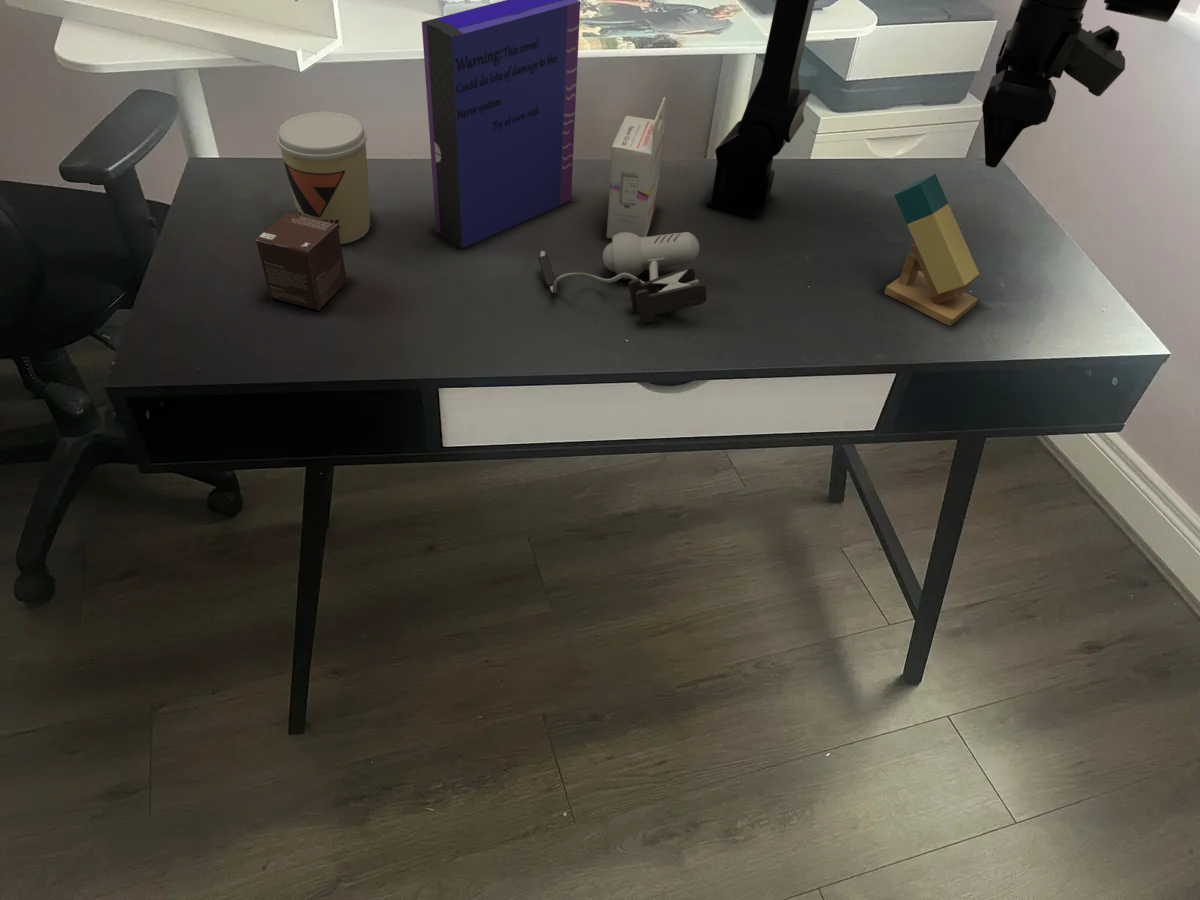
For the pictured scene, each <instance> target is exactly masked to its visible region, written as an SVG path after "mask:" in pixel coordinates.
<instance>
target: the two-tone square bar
mask: <svg viewBox="0 0 1200 900" xmlns="http://www.w3.org/2000/svg"><path fill="white" fill-rule="evenodd" d="M893 196H894V199H895V200H896V203H897V205H898V207H899V211H900V212H901V214H902V217H903V218H904V221H905V223H906V225H907V227H908V228H907V229H908V230H909V233H910V234H911V237H912V239H913V241H914V243H916V246H917V248H918V250H919V252H920V254H921V257H922V259H923V261H924V263H925V266H926V268H927V270H928V272H929V275H930V277H931V279H932V281H933V283H934V286H935V288H936V290H937V292H938V294H941V293H944V292H947V291H950V290H953V289H956V288H959V287H962V286H965V285H966V284H968V283H969V282H970V283H971V281H973V280H974V279H975V278H976V277H978V276H979V275H980V271H979V270H978V267H977V265H976V263H975V260H974V258H973V256H972V253H971V251H970V248H969V247H968V244H967V242H966V239H965V237H964V236H963V233H962V231H961V229H960V226H959V224H958V222H957V219H956V217H955V215H954V213H953V210H952V209H951V208H952V207H951V206H950V203H949V201H948V199H947V196H946V193H944V190H943V187H942V185H941V183H940V181H939V178H938V177H937V174H936V173H934V174H932V175H929V176H927V177H925V178H923V179H920V180H918V181H916V182H913V183H911V184H908V186H906V187H904V188H903V189H901V190H900V191H898V192H896V193H895V194H894V195H893Z"/></svg>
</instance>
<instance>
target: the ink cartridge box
mask: <svg viewBox="0 0 1200 900" xmlns="http://www.w3.org/2000/svg"><path fill="white" fill-rule="evenodd" d="M666 104H667V99H666V96H664V97H663V98H662V101H661V104H660V106H659V108H658V111H657V113H656V116H655V119H650V118H644V117H637V116H632V115H625V117H624V119H623V121H622V123H621V125H620V127H619V130H618V131H617V133H616V135H615V138H614V141H613V143H612V144H611V158H610V159H611V160H610V175H609V194H608V205H607V206H608V209H607V223H606V224H607V225H606V236H605V237H606V239H611V240H612V237H613V236H614V235H616V234H618V233H622V232H629V233H633V234H636V235H638V236H639V237H640V238H641V237H648V233H649V230H650V227H651V223H652V221H653V217H654V214H655V213H654V212H655V210H656V204H657V196H658V188H659V187H658V186H659V179H660V172H661V164H662V163H661V162H662V154H663V145H664V138H665V129H666V106H667V105H666Z"/></svg>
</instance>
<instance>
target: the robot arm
mask: <svg viewBox="0 0 1200 900" xmlns="http://www.w3.org/2000/svg"><path fill="white" fill-rule="evenodd" d="M1180 2H1181V0H1103V4H1105V7H1104V10H1105V11H1109V12H1114V13H1119V14H1125V15H1129V16H1134V17H1138V18H1143V19H1148V20H1154V21H1157V22H1163V23H1168V22H1169V21H1170V19H1171V18H1172V17H1173V15H1174V13H1175V11H1176V10H1177V8H1178V6H1179V4H1180ZM815 3H816V0H775V4H774V9H773V14H772V19H771V24H770V27H769V28H770V29H769V33H768V38H767V44H766V49H765V53H764V58H763V63H762V68H761V73H760V76H759V79H758V80H757V83H756V85H755V87H754V89H753V91H752V94H751V96H750V98H749V100H748V102H747V104H746V108H745V109H744V112H743V114H742V116H741V119H740V120H739V121H738V122H736V123H735V125H733V127H732V129H731V130H730V131H729V132H727V135H726V136H725V137H724V138H723V139H722V140H721V142H719V144H718V145H717V147H716V148H715V149H714V152H715V157H716V167H715V168H716V169H715V175H714V180H713V187H712V192H711V195H710V196H709V198H708V199H707V200H706V206H708V207H710V208H713V209H714V208H715V209H718V210H721V211H725V212H729V213H733V214H737V215H739V216H743V217H747V218H751V219H754V218H755V219H756V217H757V216H758V214H759V212H760V211H761V210H762V209H764V208H765V207H766V205H767V203H768V202H769V200H770V197H771V192H772V188H773V183H774V179H775V173H776V171H775V170H774V169H772V165H773V161H774V157H776V156H777V155H779V153H780V152H781V150H782V149H783V148H784V146H785V145H786V143H787V144H789V143H790V142H791V141H792V140H793V138H794V137H795V135H796V134H797V133H798V131H799V129H800V128H801V127H802V125H803V124H804V122H805V116H804V113H805V112H804V111H805V106H806V103H807V102H808V99H809V97H810V95H811V90H810V89H802V88H801V89H800V81H799V80H800V79H799V71H800V67H801V63H802V59H803V54H804V50H805V45H806V43H807V42H806V41H807V37H808V34H809V33H808V32H809V29H810V24H811V20H812V16H813V11H814V8H815ZM1087 3H1088V0H1021V2H1020V5H1019V6H1018V10H1017V14H1016V16H1015V19H1014V22H1013V25H1012V27H1011V29H1009V30H1007V31H1006V33H1005V35H1004V38H1003V40H1002V43H1001V46H1000V49H999V51H998V55H997V61H996V63H995V75H992V77H991V79H990V82H989V85H988V87H987V90H986V92H985V95H984V98H983V102H982V105H981V111H982V120H983V139H984V140H983V141H984V163H985V166H986V167H989V168H994V169H995V168H997V166H998V165H999V164H1000V162H1001V161H1002V160H1003V159H1004V157H1005V155H1006V154H1007V152H1008V151H1009V150H1010V148H1011V147H1012V145H1013V144H1014V142H1015V141H1016V140H1017V138H1018V137H1019V135H1020V134H1021V133H1022V131H1023V130H1025V129H1027V128H1030V127H1032V126H1039V125H1042V124H1043V123H1046V122H1047V121H1048V119H1049V117H1050V114H1051V112H1052V109H1053V108H1054V105H1055V101H1056V95H1057V89H1056V88H1055V86H1054V83H1053V82H1052V80H1051V79H1052V78H1056V79H1061V77H1062V75H1063V73H1064V72H1065V74H1066V75H1068V76H1069V77H1070V78H1072V79H1074V80H1075V81H1077V82H1078V83H1079V84H1081V85H1083V86H1084V87H1085V88H1087V91H1088V92H1089V93H1090V94H1091V95H1093V96H1095V97H1101V96H1102V95H1103V94H1104V93H1105V92H1106V90H1108V88H1109V87H1111V86H1112V84H1113V83H1114V82H1115V81H1116V80H1117V79H1118V78H1119V77H1120V76H1121V75H1122V73H1124V71H1125V70H1126V58H1125V56H1124V55H1123V51H1122V50H1120V49H1118V50H1117V46H1118V43H1119V41H1120V32H1119V31H1118V30H1116V29H1115V28H1113V27H1112V26H1110V24H1109V25H1105V26H1103V27H1101V28H1100V29H1098V30H1096V31H1094V32H1093V30H1085V29H1084V28H1083V23H1082V20H1083V19H1084V13H1083V12H1084V10H1085V7H1086V5H1087Z"/></svg>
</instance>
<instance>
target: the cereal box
mask: <svg viewBox="0 0 1200 900" xmlns="http://www.w3.org/2000/svg"><path fill="white" fill-rule="evenodd" d="M580 16H581V1H580V0H500V1H498V2H497V1H496V2H494V3H490V4H486V5H481V6H478V7H473V8H470V9H466V10H464V11H459V12H455V13H454V12H453V13H451V14H447V15H443V16H438V17H436V18H430V19H428V20H424V21H423V20H422V21H421V31H422V32H421V33H422V46H423V47H422V48H423V59H424V60H423V61H424V72H425V73H424V75H425V89H426V103H427V104H426V105H427V119H428V120H427V121H428V132H429V133H428V134H429V147H430V161H431V174H432V177H431V178H432V186H433V187H432V189H433V202H434V203H433V204H434V218H435V232H436V233H437V234H438V235H440V236H441V237H442V238H444V239H446V240H447V241H449V242H450V243H452V244H453V245H455V246H456V247H458V248H459V249H461V250H465V249H466V248H468V247H471V246H473V245H476V244H478V243H481V242H483V241H484V240H487V239H489V238H491V237H494V236H496V235H499V234H500V233H501V234H502V233H503V232H506V231H507V230H510V229H512V228H514V227H517V226H519V225H521V224H524V223H525V222H528V221H531V220H533V219H535V218H537V217H540V216H542V215H544V214H546V213H549V212H550V211H553V210H556V209H558V208H560V207H562V206H565V205H567V204H570V203H571V202H572V191H573V190H572V188H573V171H574V170H573V167H574V148H575V126H576V125H575V123H576V107H577V106H576V105H577V103H576V102H577V85H578V84H577V81H578V64H579V63H578V62H579V61H578V60H579V58H578V57H579V40H580V39H579V38H580V37H579V36H580Z"/></svg>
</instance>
